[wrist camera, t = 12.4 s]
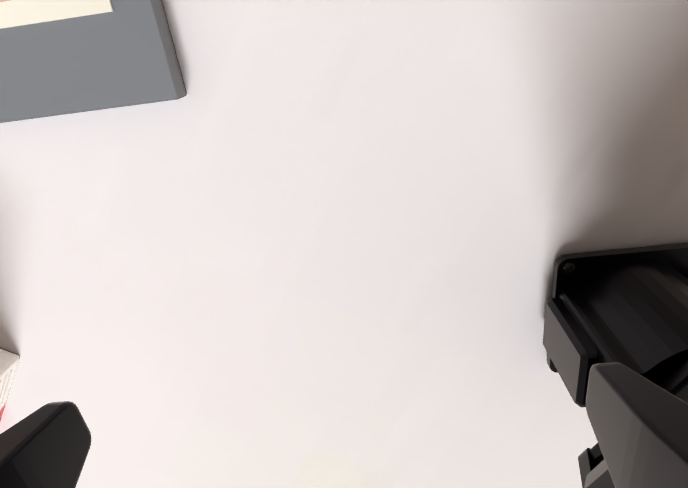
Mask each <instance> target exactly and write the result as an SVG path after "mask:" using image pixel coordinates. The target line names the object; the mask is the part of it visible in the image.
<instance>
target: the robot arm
mask: <svg viewBox="0 0 688 488" xmlns="http://www.w3.org/2000/svg"><path fill="white" fill-rule="evenodd" d="M568 263H571V266H570V267H569V268H567V269H563V267H564V266H565V265H566V264H568ZM543 345H544V347H545V349H546V351H547V364H548V365H549V367H550V369H551V370H552V371H554V372H558V373H559V375H560V376H561V378H562V380H563V382H564V384H565V386H566V388H567V389H568V391H569V393H570V395H571V397H572V399H573V400H574V402H575V403H576V404H577V405H578V406H580V407H586V410H587V414H588V417H589V420H590V422H591V425H592V428H593V430H594V433H595V435H596V438H597V441H598V443H597V444H596V445H595V446H594V447H593V448H591V449H590V448H587V449H586V450H585V451H584V452H583V453H582V454H581V455H580V456H579V457H578V460H579V467H580V474H581V480H582V487H583V488H688V243H682V244H671V245H660V246H650V247H639V248H628V249H617V250H606V251H595V252H585V253H574V254H565V255H562V256H560V257H558V258H557V260H556V261H555V264H554V272H553V285H552V298H550V299H549V300H548V301H547V302H546V307H545V322H544V336H543ZM90 445H91V434H90V431H89V429H88V427H87V425H86V423H85V421H84V419H83V417H82V415H81V413H80V411H79V409H78V407H77V406H76V405H75V404H74V403H73V402H69V401H65V402H52V403H48V404H46V405H44V406H43V407H41V408H40V409H38V410H37V411H35V412H34V413H32V414H30V415H29V416H27V417H26V418H24V419H23V420H21V421H20V422H18V423H17V424H15V425H14V426H12V427H11V428H9V429H8V430H6V431H5V432H3V433H1V434H0V488H75V487H76V484H77V482H78V479H79V476H80V473H81V471H82V468H83V465H84V462H85V460H86V457H87V454H88V451H89V449H90Z"/></svg>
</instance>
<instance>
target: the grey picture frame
mask: <svg viewBox="0 0 688 488" xmlns="http://www.w3.org/2000/svg"><path fill="white" fill-rule="evenodd" d="M184 96H186V91H185V87H184V83H183V80H182V76H181V72H180V68H179V65H178V61H177V57H176V53H175V50H174V46H173V42H172V38H171V35H170V31H169V27H168V24H167V20H166V16H165V12H164V9H163V5H162V1H161V0H0V123H3V122H10V121H18V120H25V119H33V118H40V117H48V116H55V115H63V114H70V113H78V112H86V111H93V110H101V109H108V108H116V107H123V106H131V105H138V104H146V103H153V102H161V101H168V100H176V99H179V98H182V97H184Z"/></svg>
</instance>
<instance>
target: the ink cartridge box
mask: <svg viewBox="0 0 688 488" xmlns="http://www.w3.org/2000/svg"><path fill="white" fill-rule="evenodd" d="M19 359H20V357H19V356H18V355H16V354H13V353H11V352H8V351H5V350H3V349H0V419H1V416H2V413H3V410H4V407H5V403H6V400H7V397H8V394H9V391H10V387H11V384H12V381H13V378H14V375H15V372H16V369H17V366H18V363H19Z"/></svg>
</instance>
